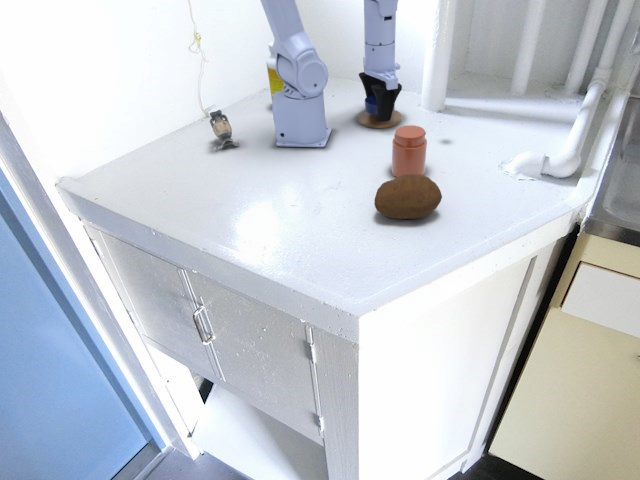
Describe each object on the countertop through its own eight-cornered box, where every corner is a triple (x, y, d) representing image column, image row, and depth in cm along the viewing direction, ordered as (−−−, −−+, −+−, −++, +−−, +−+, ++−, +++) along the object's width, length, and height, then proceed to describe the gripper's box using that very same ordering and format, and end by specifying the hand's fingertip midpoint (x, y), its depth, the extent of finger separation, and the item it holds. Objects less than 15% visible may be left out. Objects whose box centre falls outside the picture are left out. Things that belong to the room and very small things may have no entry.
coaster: (355, 128, 94) (355, 125, 94) (360, 110, 101) (360, 107, 100) (400, 128, 93) (400, 125, 92) (402, 111, 99) (402, 108, 99)
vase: (210, 140, 92) (202, 109, 88) (237, 135, 93) (230, 105, 89) (212, 151, 89) (204, 120, 85) (241, 147, 90) (234, 115, 86)
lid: (400, 109, 95) (401, 100, 93) (377, 117, 92) (377, 107, 91) (381, 101, 98) (381, 92, 97) (359, 108, 96) (358, 99, 95)
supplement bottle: (301, 112, 101) (294, 47, 92) (271, 113, 101) (261, 48, 93) (304, 100, 106) (297, 37, 97) (275, 101, 106) (266, 39, 97)
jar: (390, 179, 78) (391, 138, 73) (392, 163, 82) (393, 124, 77) (424, 180, 78) (427, 139, 73) (424, 164, 82) (427, 124, 77)
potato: (370, 205, 72) (370, 168, 68) (432, 199, 73) (435, 161, 69) (378, 229, 68) (378, 191, 63) (444, 222, 68) (448, 183, 64)
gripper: (414, 49, 82) (411, 124, 92) (386, 29, 93) (385, 99, 102) (377, 54, 81) (377, 130, 90) (352, 33, 91) (354, 104, 101)
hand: (379, 114), depth 96 cm, fingers closed on lid, 6 cm apart
